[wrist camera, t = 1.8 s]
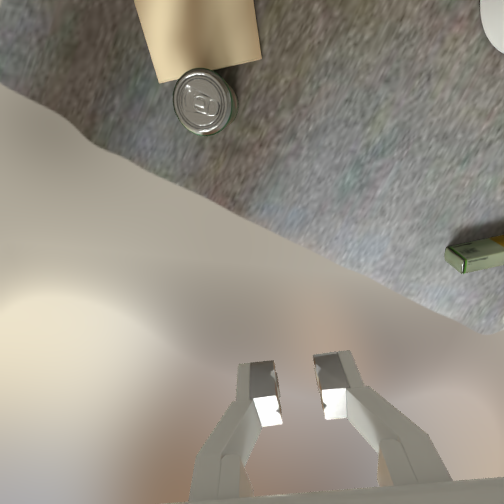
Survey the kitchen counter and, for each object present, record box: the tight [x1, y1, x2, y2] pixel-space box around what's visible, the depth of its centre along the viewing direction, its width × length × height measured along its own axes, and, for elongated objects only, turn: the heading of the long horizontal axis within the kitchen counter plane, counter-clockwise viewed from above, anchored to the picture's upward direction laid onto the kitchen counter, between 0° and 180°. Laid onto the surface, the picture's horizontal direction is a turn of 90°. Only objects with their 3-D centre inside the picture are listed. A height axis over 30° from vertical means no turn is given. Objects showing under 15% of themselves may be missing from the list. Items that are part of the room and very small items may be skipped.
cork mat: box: [134, 0, 262, 83], centre depth 28 cm, size 12×9×1 cm
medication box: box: [444, 235, 504, 274], centre depth 39 cm, size 12×3×4 cm, turn 106°
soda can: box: [173, 68, 238, 136], centre depth 27 cm, size 5×5×12 cm
